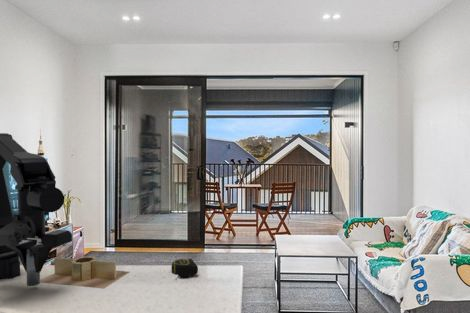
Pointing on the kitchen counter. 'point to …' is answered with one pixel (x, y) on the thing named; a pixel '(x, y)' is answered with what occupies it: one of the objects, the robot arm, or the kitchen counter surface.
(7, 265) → the robot arm
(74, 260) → the brass hinge
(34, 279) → the hinge pin
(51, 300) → the kitchen counter surface
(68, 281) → the walnut board
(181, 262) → the tape measure
